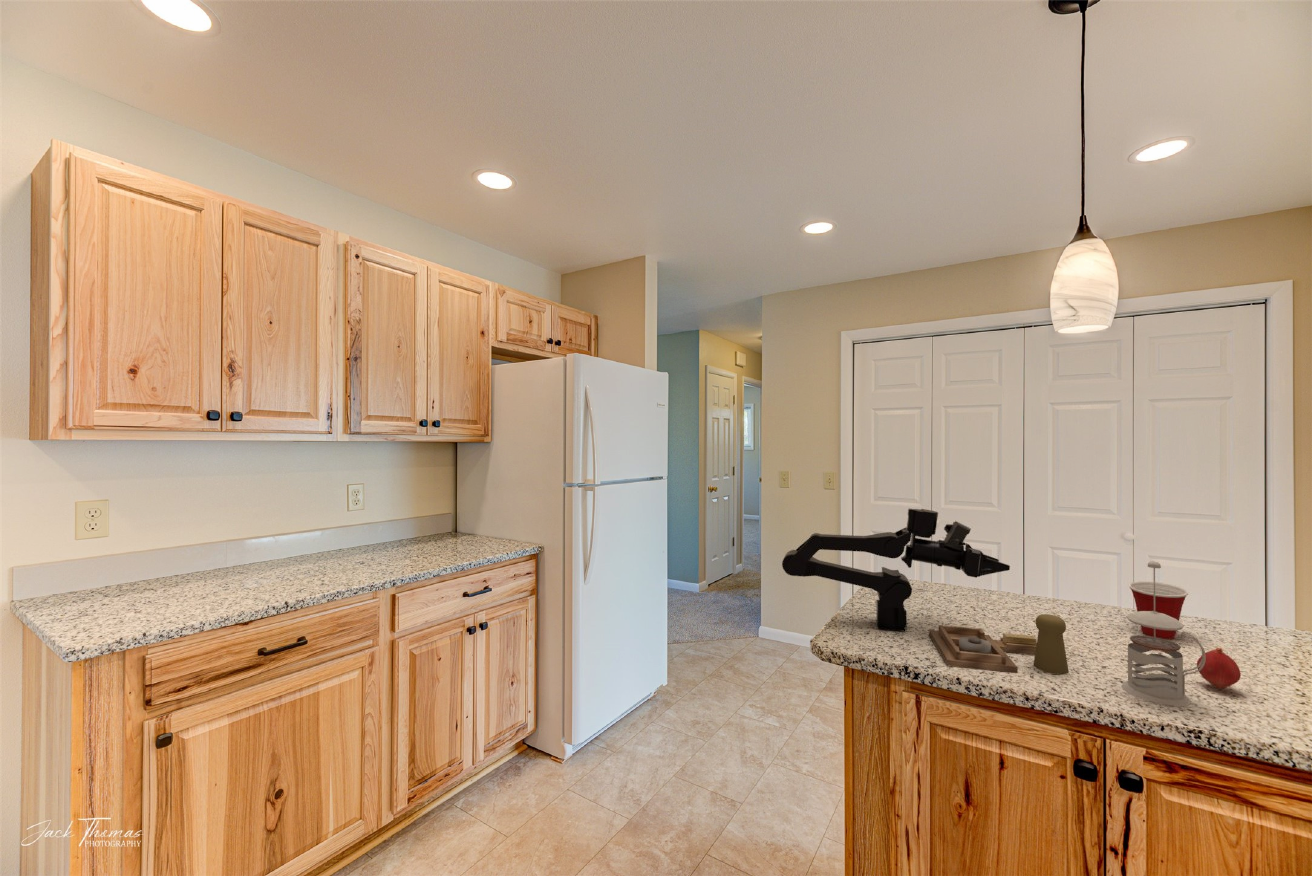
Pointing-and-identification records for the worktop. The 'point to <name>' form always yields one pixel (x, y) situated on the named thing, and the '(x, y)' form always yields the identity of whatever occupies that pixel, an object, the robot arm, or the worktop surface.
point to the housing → (976, 649)
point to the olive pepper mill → (1050, 645)
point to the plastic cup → (1159, 603)
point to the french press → (1157, 659)
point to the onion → (1219, 669)
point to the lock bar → (1019, 639)
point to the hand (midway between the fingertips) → (1003, 564)
